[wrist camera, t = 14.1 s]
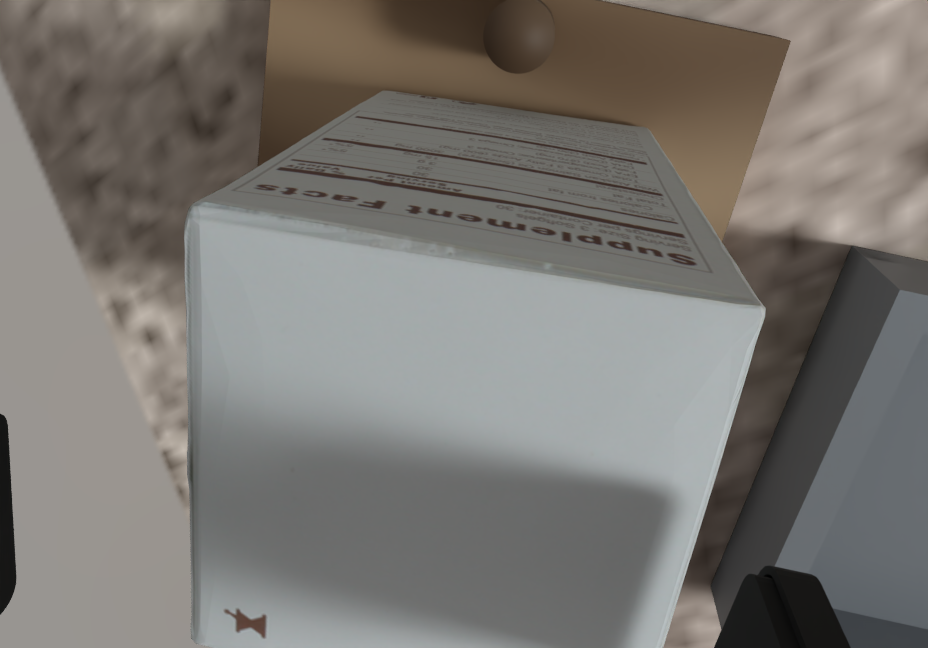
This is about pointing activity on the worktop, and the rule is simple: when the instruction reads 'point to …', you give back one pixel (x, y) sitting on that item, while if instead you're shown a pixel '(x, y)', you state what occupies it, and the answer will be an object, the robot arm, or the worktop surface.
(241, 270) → the supplement box
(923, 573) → the tray
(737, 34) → the peg stand
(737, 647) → the robot arm
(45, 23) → the worktop surface
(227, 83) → the worktop surface
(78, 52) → the worktop surface
